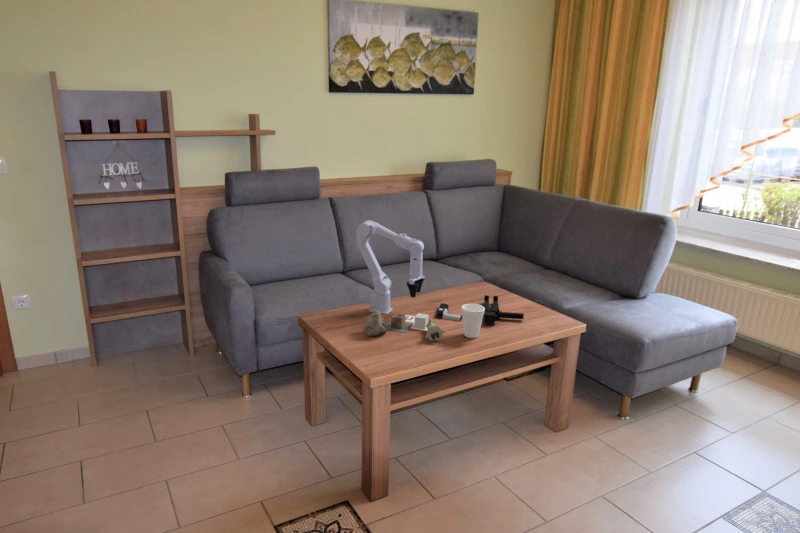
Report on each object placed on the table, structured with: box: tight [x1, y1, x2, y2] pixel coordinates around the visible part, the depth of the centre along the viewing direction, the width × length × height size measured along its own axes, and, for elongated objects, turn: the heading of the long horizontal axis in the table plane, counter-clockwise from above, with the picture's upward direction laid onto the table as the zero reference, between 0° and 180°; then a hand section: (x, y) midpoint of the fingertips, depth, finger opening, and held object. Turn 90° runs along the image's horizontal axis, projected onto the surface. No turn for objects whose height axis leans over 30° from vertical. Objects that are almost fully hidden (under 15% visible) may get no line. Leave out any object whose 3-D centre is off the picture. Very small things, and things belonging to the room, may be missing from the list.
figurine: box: [424, 317, 445, 342], centre depth 241 cm, size 9×7×15 cm
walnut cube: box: [391, 312, 406, 329], centre depth 249 cm, size 5×5×5 cm
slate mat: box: [385, 320, 413, 334], centre depth 250 cm, size 11×11×1 cm
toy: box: [483, 294, 525, 326], centre depth 268 cm, size 28×6×30 cm
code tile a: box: [404, 314, 416, 324], centre depth 260 cm, size 8×8×1 cm
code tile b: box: [410, 323, 428, 332], centre depth 251 cm, size 8×8×1 cm
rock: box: [364, 310, 387, 337], centre depth 241 cm, size 9×12×10 cm
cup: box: [460, 303, 485, 339], centre depth 241 cm, size 10×10×13 cm
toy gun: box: [435, 302, 463, 322], centre depth 266 cm, size 3×16×12 cm
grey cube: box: [414, 312, 430, 329], centre depth 250 cm, size 5×5×5 cm
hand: (415, 294), depth 263 cm, fingers open, 7 cm apart
